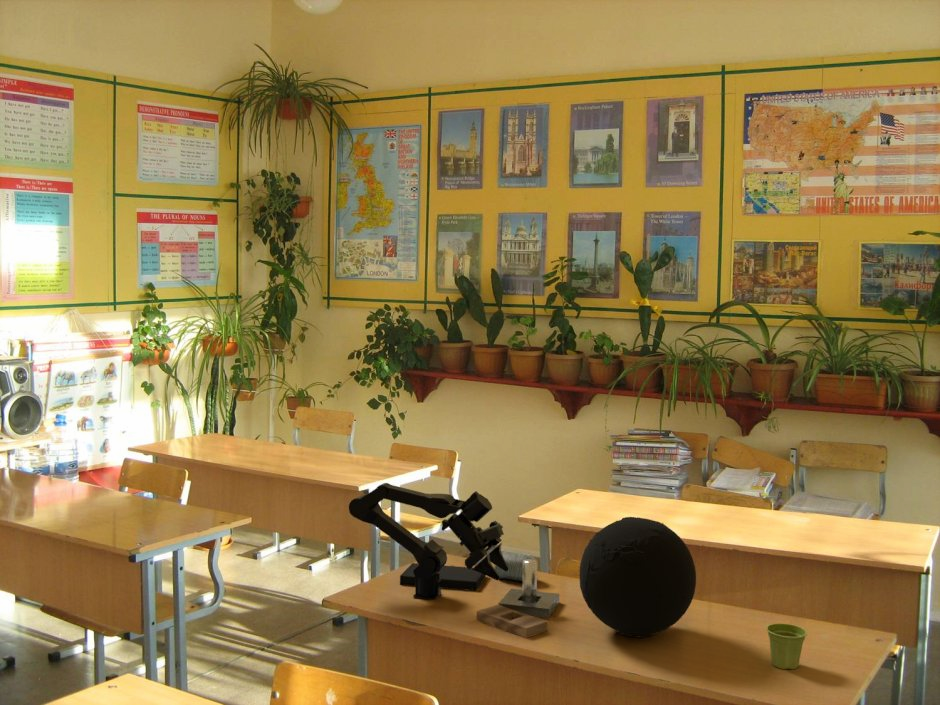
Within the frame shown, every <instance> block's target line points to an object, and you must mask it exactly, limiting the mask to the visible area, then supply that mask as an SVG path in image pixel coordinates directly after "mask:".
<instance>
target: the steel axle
mask: <svg viewBox="0 0 940 705" xmlns="http://www.w3.org/2000/svg"><path fill="white" fill-rule="evenodd" d="M537 563H538V560H537V559H536V560H532V559H527V560H523V577H522V581H521V582H522V586H521V590H522V601H527V602H536V599H537V589H538V588H537V587H538V584H537V583H538V569H537Z"/></svg>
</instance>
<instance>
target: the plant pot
mask: <svg viewBox="0 0 940 705" xmlns="http://www.w3.org/2000/svg"><path fill="white" fill-rule="evenodd" d="M766 631H767V635H768V639H769V646H770V648H769V649H770V658H771V664H772V665H773V666H774V667H776V668H778V669H781V670H788V669H789V670H790V669H791V670H795V669H798V667H799V664H800V658H801V654H802V649H803V644H804V642H805V639H806V636H807V635H808V631H807V629H805V627H804V628H803V627H801V626H799V625H796V624H792V623H786V622H785V623H783V622H779V623H771V624H768V625H766Z"/></svg>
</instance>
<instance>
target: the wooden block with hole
mask: <svg viewBox="0 0 940 705" xmlns="http://www.w3.org/2000/svg"><path fill="white" fill-rule="evenodd" d="M475 621H477V622H481V623H484V624H485V625H486V624H487V625H489V626H492V627H494V628H497V629H500V630H504V631H506V632H509V633H510V634H511V633H512V634H514V635H517V636H519V637H521V638H526V639H527V638H529V637H532V636H536V635H539V634H542V633H544V632H547V631H548V621H547V620H544V619H543V618H542V619H541V618H540V617H535V616H530V615H527V614H524V613H521V612H518V611H515V610H512V609H509V608H506V607H503V606H500V605H498V604H495V605H491V606H488V607H485V608H482V609H479V610H476V620H475Z"/></svg>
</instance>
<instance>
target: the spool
mask: <svg viewBox="0 0 940 705" xmlns="http://www.w3.org/2000/svg"><path fill="white" fill-rule="evenodd" d="M501 553H502V555H503V557H504V560H505V562H506V564H507V566H508V568H509V570H508V571H504V570H503V569H501V568H499V567H498V566H496V565H495V564H494V566H493V567H494V569H495V570H496V572H497V573H498V575H499V577H500V579H507V580H514V581H518V582H522V577H523V560H527V559H532V560H536V561H537V559H536V558H535V557H532V556H531V555H528V554H524V553H519V552H509V551H508V552H506V551H505V552H504V551H501ZM538 568H539V564H538V562H537V570H538Z"/></svg>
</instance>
